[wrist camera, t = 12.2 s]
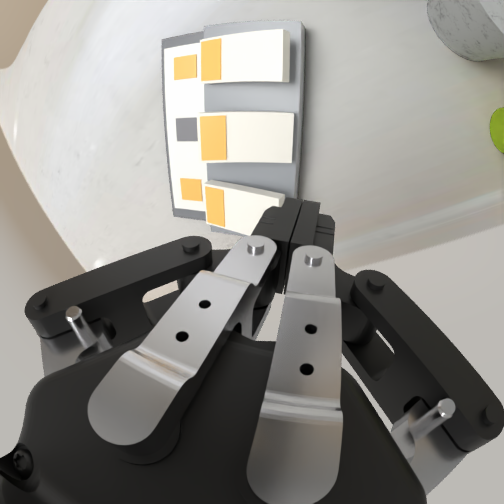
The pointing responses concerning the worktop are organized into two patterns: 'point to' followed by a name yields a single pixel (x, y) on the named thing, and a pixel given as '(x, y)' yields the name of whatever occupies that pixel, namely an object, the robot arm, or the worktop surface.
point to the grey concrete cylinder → (469, 27)
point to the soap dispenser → (498, 129)
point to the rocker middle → (245, 136)
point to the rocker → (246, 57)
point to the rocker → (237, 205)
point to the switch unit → (225, 99)
